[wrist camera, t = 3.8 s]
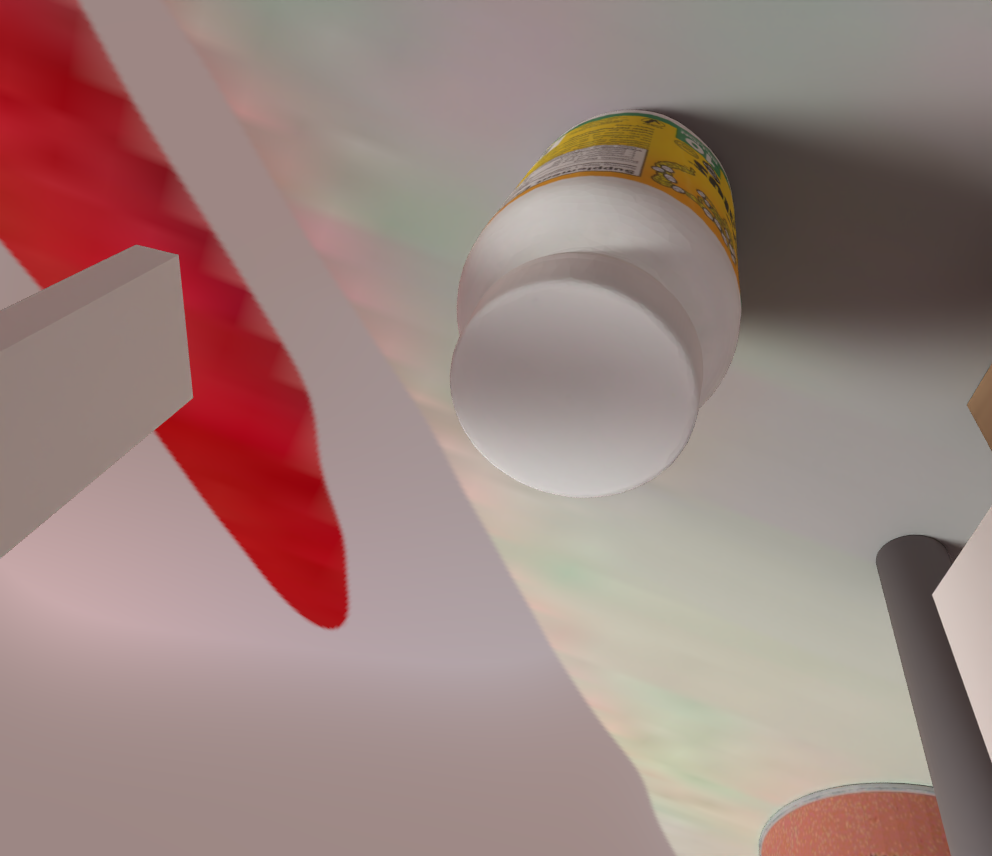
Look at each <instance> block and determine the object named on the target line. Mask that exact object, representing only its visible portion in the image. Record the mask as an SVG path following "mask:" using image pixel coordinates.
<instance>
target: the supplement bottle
mask: <svg viewBox="0 0 992 856" xmlns="http://www.w3.org/2000/svg"><path fill="white" fill-rule="evenodd" d="M741 312H742V301H741V293H740V285H739V273H738V259H737V243H736V228H735V212H734V204H733V197H732V191H731V187H730V184H729V181H728V178H727V175H726V173H725V171H724V169H723V167H722V165H721V163H720V161H719V160H718V158H717V157H716V156H715V154H714V153H713V152H712V151H711V149H710V148H709V147H708V146H707V145H706V144H705V143H704V142H703V141H702V140H701V139H700V138H699V137H698V136H697V135H695V134H694V133H693V132H692V131H691V130H689V129H688V128H687V127H685V126H684V125H682V124H681V123H679V122H678V121H676V120H674V119H671V118H669V117H667V116H665V115H662V114H658V113H655V112H650V111H642V110H620V111H613V112H608V113H604V114H601V115H597V116H595V117H592V118H589V119H587V120H585V121H583V122H581V123H579V124H578V125H576V126H574V127H572V128H571V129H570V130H568V131H567V132H565V133H564V134H563V135H562V136H560V137H559V138H558V139H557V140H556V141H555V142H554V143H553V144H552V145H551V146H550V147H549V148H548V149H547V150H546V151H545V152H544V154H543V155H542V156H541V157H540V158H539V160H538V161H537V162H536V163H535V165H534V166H533V167H532V168H531V170H530V171H529V172H528V173H527V175H526V176H525V177H524V178H523V180H522V181H521V182H520V184H519V185H518V186H517V187H516V189H515V190H514V191H513V192H512V194H511V195H510V196H509V197H508V198H507V200H506V201H505V202H504V204H503V205H502V206H501V208H500V209H499V210H498V211H497V212H496V214H495V215H494V216H493V217H492V219H491V220H490V222H489V223H488V224H487V226H486V227H485V228H484V229H483V231H482V232H481V234H480V235H479V237H478V239H477V240H476V242H475V244H474V245H473V247H472V249H471V251H470V253H469V255H468V257H467V260H466V262H465V265H464V267H463V271H462V275H461V278H460V282H459V288H458V296H457V322H458V329H459V334H460V337H459V339H458V342H457V344H456V347H455V349H454V352H453V358H452V364H451V371H450V388H451V396H452V400H453V404H454V408H455V411H456V414H457V417H458V419H459V422H460V424H461V426H462V428H463V430H464V432H465V433H466V435H467V436H468V438H469V439H470V441H471V442H472V443H473V445H474V446H475V447H476V448H477V450H478V451H479V452H480V453H481V454H482V455H483V456H484V457H485V458H486V459H487V460H488V461H489V462H490V463H491V464H493V465H494V466H495V467H496V468H498V469H499V470H501V471H502V472H504V473H505V474H507V475H508V476H510V477H511V478H513V479H515V480H516V481H518V482H520V483H522V484H524V485H526V486H529V487H532V488H534V489H537V490H540V491H543V492H547V493H551V494H554V495H559V496H567V497H576V498H593V497H603V496H610V495H615V494H619V493H623V492H626V491H628V490H631V489H634V488H636V487H638V486H641V485H643V484H645V483H647V482H649V481H650V480H652V479H654V478H655V477H657V476H658V475H660V474H661V473H662V472H663V471H664V470H666V469H667V468H668V467H669V466H670V465H671V464H672V463H673V462H674V461H675V460H676V458H677V457H678V456H679V454H680V453H681V452H682V450H683V449H684V447H685V446H686V444H687V443H688V441H689V438H690V436H691V433H692V431H693V428H694V425H695V422H696V419H697V415H698V411H699V408H700V407H701V406H702V405H703V404H704V403H705V402H706V401H707V400H708V399H709V398H710V397H711V395H712V394H713V393H714V392H715V390H716V389H717V387H718V386H719V384H720V383H721V381H722V379H723V378H724V376H725V374H726V372H727V370H728V368H729V366H730V364H731V361H732V358H733V356H734V353H735V350H736V346H737V341H738V336H739V329H740V320H741Z"/></svg>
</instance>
